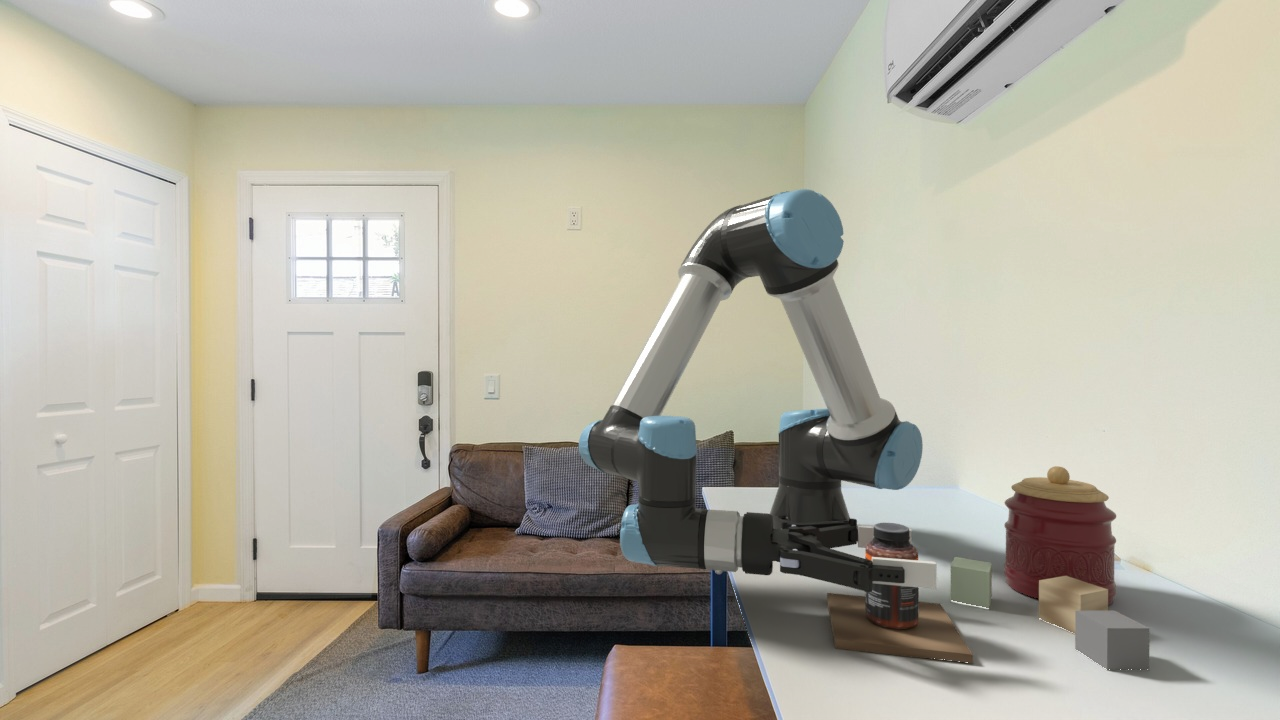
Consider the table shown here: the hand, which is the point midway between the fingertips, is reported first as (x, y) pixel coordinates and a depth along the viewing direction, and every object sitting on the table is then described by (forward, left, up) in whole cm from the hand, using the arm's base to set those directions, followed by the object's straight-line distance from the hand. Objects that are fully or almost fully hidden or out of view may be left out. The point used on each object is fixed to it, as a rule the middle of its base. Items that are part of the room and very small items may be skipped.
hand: (922, 556), depth 72 cm
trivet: (0, -3, -9) cm, 10 cm away
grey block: (+2, +19, -9) cm, 21 cm away
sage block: (-12, +9, -9) cm, 17 cm away
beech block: (-7, +19, -9) cm, 22 cm away
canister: (-19, +22, -9) cm, 30 cm away
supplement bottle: (0, -3, -8) cm, 9 cm away
